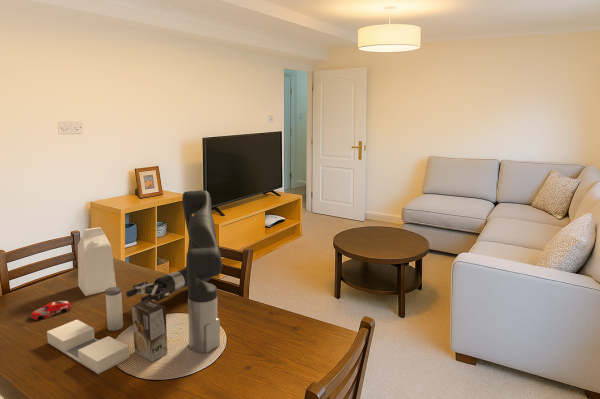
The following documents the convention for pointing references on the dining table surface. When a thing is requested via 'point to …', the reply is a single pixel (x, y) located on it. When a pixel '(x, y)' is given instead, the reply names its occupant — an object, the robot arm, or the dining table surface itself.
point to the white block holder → (87, 346)
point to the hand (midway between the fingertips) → (134, 297)
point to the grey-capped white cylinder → (114, 308)
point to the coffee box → (149, 329)
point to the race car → (51, 310)
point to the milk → (95, 262)
